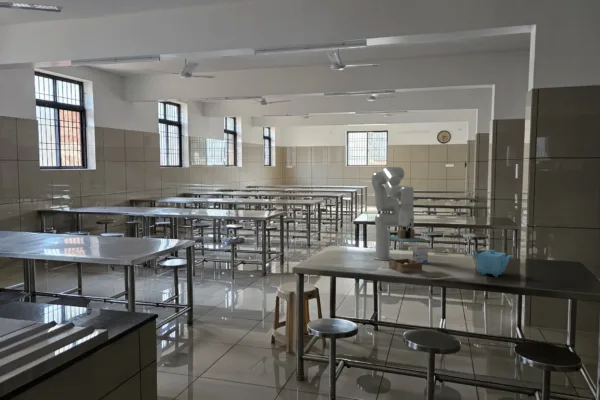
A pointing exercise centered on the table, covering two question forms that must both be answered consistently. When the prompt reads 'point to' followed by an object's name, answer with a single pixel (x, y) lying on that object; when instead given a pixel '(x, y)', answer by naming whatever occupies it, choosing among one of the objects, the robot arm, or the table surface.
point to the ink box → (420, 254)
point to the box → (405, 265)
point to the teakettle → (491, 262)
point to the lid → (402, 236)
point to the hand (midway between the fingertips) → (406, 237)
